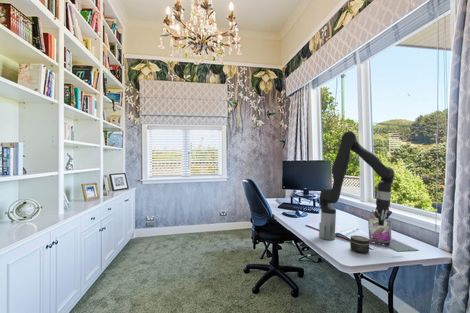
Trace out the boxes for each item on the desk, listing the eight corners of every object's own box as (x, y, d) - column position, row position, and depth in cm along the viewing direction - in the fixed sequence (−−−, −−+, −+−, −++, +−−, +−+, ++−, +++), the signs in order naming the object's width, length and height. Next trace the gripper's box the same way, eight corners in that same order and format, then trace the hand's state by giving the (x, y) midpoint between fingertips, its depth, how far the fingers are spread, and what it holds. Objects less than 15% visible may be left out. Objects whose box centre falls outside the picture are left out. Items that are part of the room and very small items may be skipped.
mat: (397, 251, 137) (397, 250, 137) (374, 240, 155) (374, 239, 155) (418, 250, 140) (418, 250, 140) (393, 239, 158) (393, 239, 158)
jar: (372, 255, 131) (372, 241, 131) (353, 253, 132) (353, 240, 132) (365, 248, 141) (365, 235, 141) (347, 246, 142) (348, 234, 142)
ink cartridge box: (388, 235, 166) (388, 215, 166) (391, 238, 160) (392, 217, 160) (372, 234, 168) (373, 214, 168) (375, 237, 162) (376, 216, 162)
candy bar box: (369, 237, 148) (368, 217, 159) (369, 242, 150) (367, 222, 162) (390, 240, 143) (387, 219, 155) (389, 245, 146) (386, 224, 157)
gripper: (378, 199, 142) (376, 227, 142) (397, 199, 144) (394, 227, 145) (369, 196, 149) (367, 223, 150) (387, 197, 151) (385, 223, 152)
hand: (380, 225), depth 147 cm, fingers closed
